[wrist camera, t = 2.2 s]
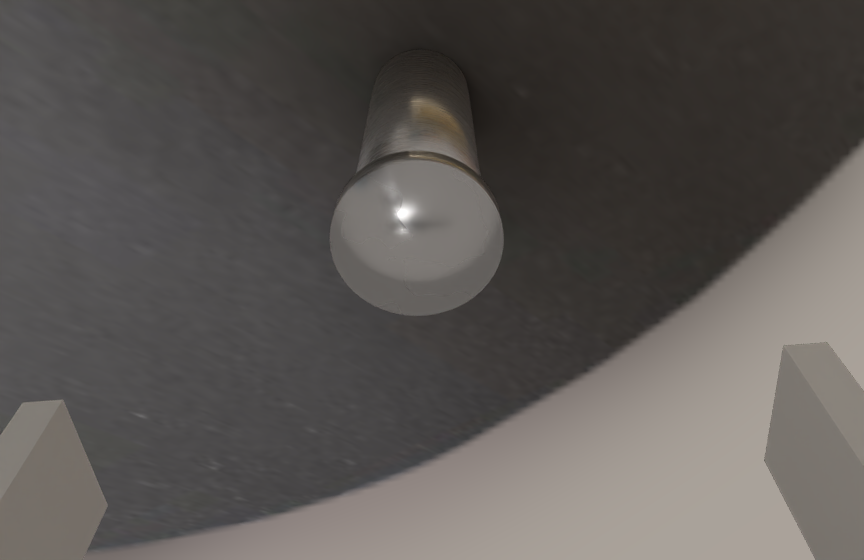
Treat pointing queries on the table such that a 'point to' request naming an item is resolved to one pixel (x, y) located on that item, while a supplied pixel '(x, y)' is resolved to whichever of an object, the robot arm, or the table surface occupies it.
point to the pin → (417, 195)
